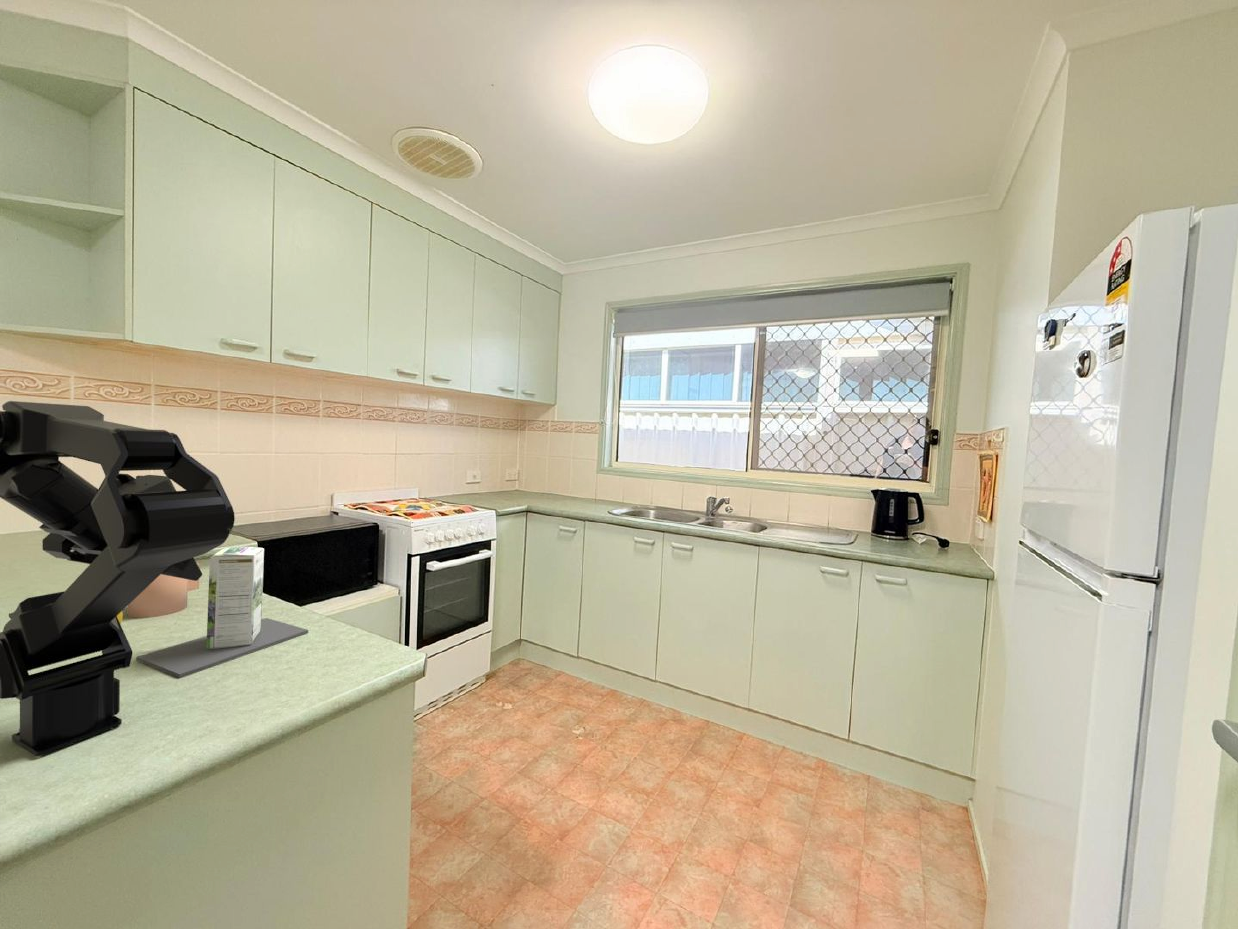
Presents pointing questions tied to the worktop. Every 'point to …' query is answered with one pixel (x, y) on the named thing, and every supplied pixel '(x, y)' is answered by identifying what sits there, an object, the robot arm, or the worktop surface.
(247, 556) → the syrup box
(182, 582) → the terracotta mug
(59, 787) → the worktop surface
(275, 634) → the mat
